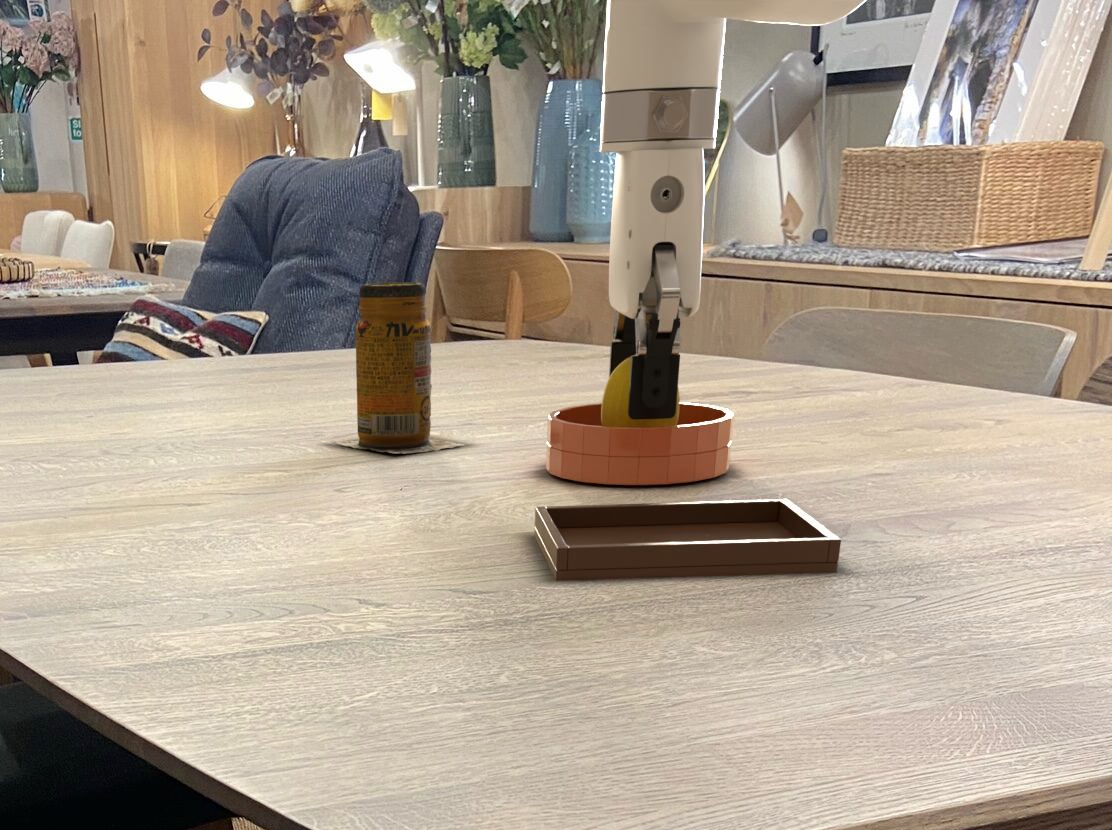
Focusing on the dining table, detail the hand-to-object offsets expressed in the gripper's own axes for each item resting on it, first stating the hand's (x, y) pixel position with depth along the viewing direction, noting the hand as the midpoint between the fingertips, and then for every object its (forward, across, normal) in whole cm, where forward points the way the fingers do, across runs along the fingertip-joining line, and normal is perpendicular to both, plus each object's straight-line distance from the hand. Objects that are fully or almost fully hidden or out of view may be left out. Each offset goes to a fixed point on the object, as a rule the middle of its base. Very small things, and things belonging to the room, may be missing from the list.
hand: (640, 408), depth 103 cm
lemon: (+4, 0, 0) cm, 4 cm away
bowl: (+4, 0, 0) cm, 4 cm away
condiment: (+5, +15, +17) cm, 23 cm away
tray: (+4, -26, +2) cm, 26 cm away
